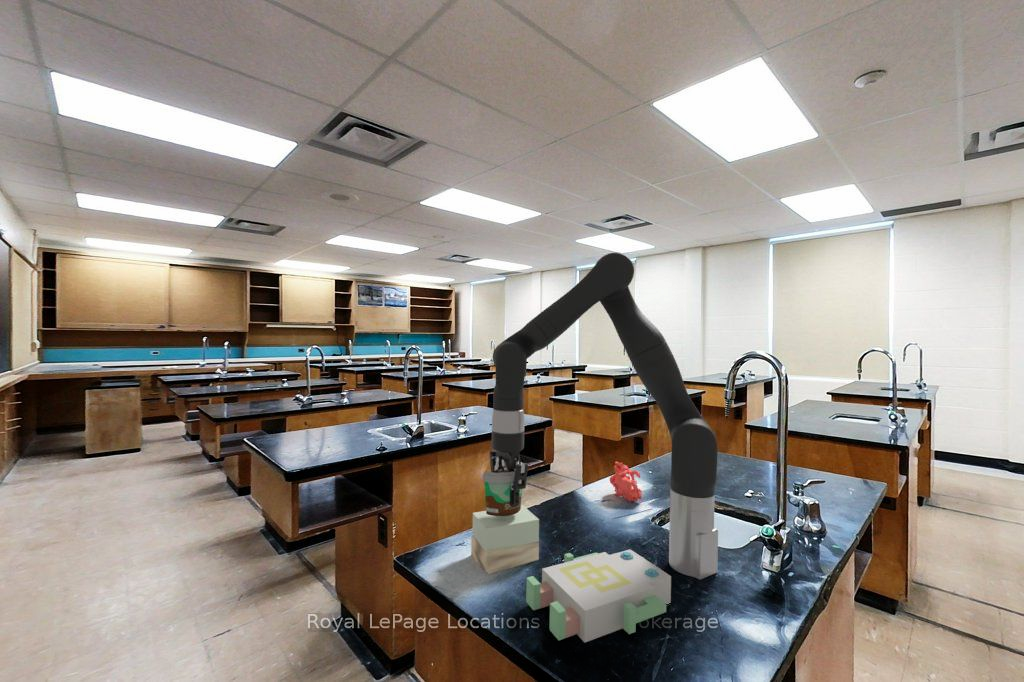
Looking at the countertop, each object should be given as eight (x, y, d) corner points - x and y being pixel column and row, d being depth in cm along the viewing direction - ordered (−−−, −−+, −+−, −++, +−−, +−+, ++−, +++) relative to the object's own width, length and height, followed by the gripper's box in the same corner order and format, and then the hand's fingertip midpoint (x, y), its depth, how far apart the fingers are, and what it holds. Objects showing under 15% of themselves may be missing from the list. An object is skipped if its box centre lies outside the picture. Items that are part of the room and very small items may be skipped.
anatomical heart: (637, 511, 130) (632, 476, 128) (605, 499, 139) (600, 467, 137) (652, 497, 135) (648, 463, 133) (621, 487, 144) (615, 455, 142)
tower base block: (538, 561, 98) (539, 540, 98) (487, 576, 91) (488, 553, 91) (519, 544, 105) (519, 524, 105) (471, 556, 99) (471, 535, 99)
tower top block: (538, 541, 97) (539, 519, 97) (485, 551, 92) (485, 528, 92) (522, 524, 105) (522, 504, 105) (472, 533, 100) (472, 512, 100)
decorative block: (617, 537, 96) (689, 584, 78) (616, 565, 96) (688, 618, 78) (516, 562, 85) (573, 624, 67) (515, 594, 85) (573, 664, 67)
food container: (503, 524, 91) (503, 477, 90) (481, 516, 94) (482, 471, 94) (536, 506, 100) (536, 464, 100) (515, 499, 104) (516, 459, 104)
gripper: (538, 433, 93) (538, 509, 93) (506, 421, 106) (506, 488, 106) (509, 436, 89) (508, 516, 90) (479, 424, 102) (479, 493, 102)
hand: (507, 500), depth 98 cm, fingers closed on food container, 5 cm apart
